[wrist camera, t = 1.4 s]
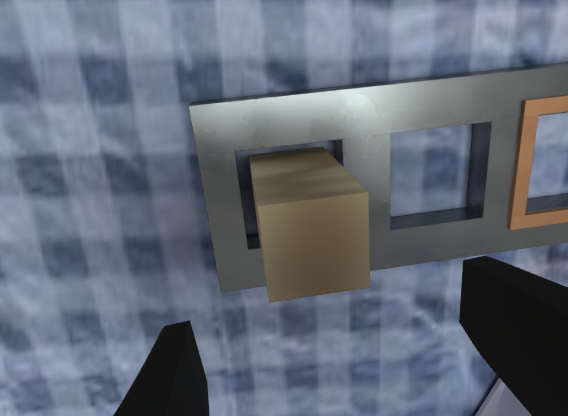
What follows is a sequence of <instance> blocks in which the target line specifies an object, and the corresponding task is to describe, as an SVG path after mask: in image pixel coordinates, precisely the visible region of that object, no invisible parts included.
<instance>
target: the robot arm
mask: <svg viewBox="0 0 568 416" xmlns="http://www.w3.org/2000/svg"><path fill="white" fill-rule="evenodd" d="M459 322H460V324H461V325H462V327H463V329H464V330H465V332H466V333H467V335H468V337H469V338H470V340H471V341H472V343H473V344H474V346H475V347H476V349H477V350H478V352H479V353H480V355H481V356H482V357H483V359H484V360H485V361H486V362H487V363H488V365H489V366H490V367H491V368H492V369H493V371H494V372H495V373H496V374H497V375H498V377H499V379H498V380H497V382H496V383H495V385H494V387H493V388H492V390H491V391H490V393H489V394H488V396H487V398H486V399H485V401H484V402H483V404H482V405H481V407H480V409H479V410H478V412H477V413H476V415H475V416H568V287H565V286H563V285H560V284H558V283H555V282H553V281H550V280H547V279H545V278H542V277H540V276H537V275H535V274H532V273H530V272H527V271H525V270H522V269H520V268H517V267H515V266H512V265H509V264H507V263H504V262H501V261H499V260H496V259H493V258H490V257H487V256H482V257H477V258H473V259H468V260H464V261H463V272H462V288H461V303H460V319H459ZM113 416H209V401H208V386H207V379H206V376H205V372H204V369H203V365H202V362H201V358H200V355H199V351H198V348H197V344H196V341H195V337H194V334H193V330H192V327H191V323H190V321H185V322H181V323H176V324H172V325H167V326H164V328H163V329H162V330H161V332H160V334H159V336H158V338H157V340H156V342H155V344H154V346H153V348H152V350H151V352H150V353H149V355H148V357H147V359H146V361H145V363H144V365H143V366H142V368H141V370H140V372H139V374H138V375H137V377H136V379H135V380H134V382H133V384H132V386H131V387H130V389H129V391H128V392H127V394H126V396H125V398H124V399H123V401H122V403H121V404H120V406H119V407H118V409H117V411H116V412H115V414H114V415H113Z"/></svg>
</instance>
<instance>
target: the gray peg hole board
mask: <svg viewBox="0 0 568 416" xmlns="http://www.w3.org/2000/svg"><path fill="white" fill-rule="evenodd" d="M189 110H190V116H191V122H192V127H193V133H194V139H195V145H196V151H197V157H198V162H199V168H200V174H201V180H202V186H203V191H204V197H205V203H206V209H207V215H208V220H209V226H210V232H211V238H212V244H213V250H214V255H215V261H216V267H217V273H218V279H219V284H220V290H221V292H227V291H234V290H241V289H248V288H255V287H261V286H267V283H266V277H265V270H264V264H263V258H262V251H261V245H260V239H259V235H257V236H249V237H247V234H246V227H245V220H244V212H243V205H242V198H241V191H240V183H239V176H238V169H237V161H236V154H235V151H243V150H252V149H260V148H269V147H277V146H286V145H294V144H303V143H311V142H320V141H329V140H335V154H336V160H337V161H338V162H339V163H340V164H341V165H342V166H343V167H344V168H345V169H346V170H347V171H348V172H349V173H350V174H351V175H352V176H353V177H354V178H355V179H356V180H357V181H358V182H359V183H360V184H361V185H362V186H363V187H364V188H365V189H366V190H367V191H368V202H369V263H370V271H372V270H379V269H386V268H393V267H399V266H406V265H413V264H420V263H427V262H434V261H441V260H448V259H455V258H462V257H468V256H475V255H482V254H489V253H496V252H503V251H510V250H517V249H524V248H531V247H537V246H544V245H551V244H558V243H565V242H568V194H561V195H554V196H547V197H539V198H532V199H527V196H528V188H529V181H530V174H531V166H532V159H533V151H534V144H535V136H536V129H537V122H538V116H542V115H550V114H559V113H567V112H568V62H565V63H555V64H546V65H537V66H527V67H518V68H508V69H499V70H490V71H480V72H471V73H461V74H452V75H443V76H433V77H424V78H415V79H405V80H396V81H386V82H377V83H368V84H358V85H349V86H339V87H330V88H321V89H311V90H302V91H292V92H283V93H274V94H264V95H255V96H245V97H236V98H227V99H217V100H208V101H198V102H192V103H191V104H190V105H189ZM465 124H473V134H472V147H471V160H470V173H469V185H468V198H467V207H465V208H457V209H450V210H443V211H435V212H428V213H420V214H413V215H405V216H398V217H390V137H391V133H397V132H405V131H414V130H422V129H431V128H439V127H448V126H456V125H465Z"/></svg>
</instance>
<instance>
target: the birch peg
mask: <svg viewBox="0 0 568 416" xmlns="http://www.w3.org/2000/svg"><path fill="white" fill-rule="evenodd" d="M249 163H250V171H251V179H252V187H253V195H254V203H255V211H256V219H257V226H258V233H259V239H260V245H261V251H262V258H263V264H264V270H265V277H266V283H267V289H268V295H269V302H275V301H282V300H288V299H295V298H302V297H309V296H315V295H322V294H329V293H336V292H342V291H349V290H356V289H362V288H369V287H370V263H369V202H368V191H367V190H366V189H365V188H364V187H363V186H362V185H361V184H360V183H359V182H358V181H357V180H356V179H355V178H354V177H353V176H352V175H351V174H350V173H349V172H348V171H347V170H346V169H345V168H344V167H343V166H342V165H341V164H340V163H339V162H338V161H337V160H336V159H335V158H334V157H333V156H332V155H331V154H330V153H329V152H328V151H327V150H326V149H325V148H324V147H323V146H322V147H313V148H305V149H296V150H288V151H280V152H271V153H263V154H254V155H249Z"/></svg>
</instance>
